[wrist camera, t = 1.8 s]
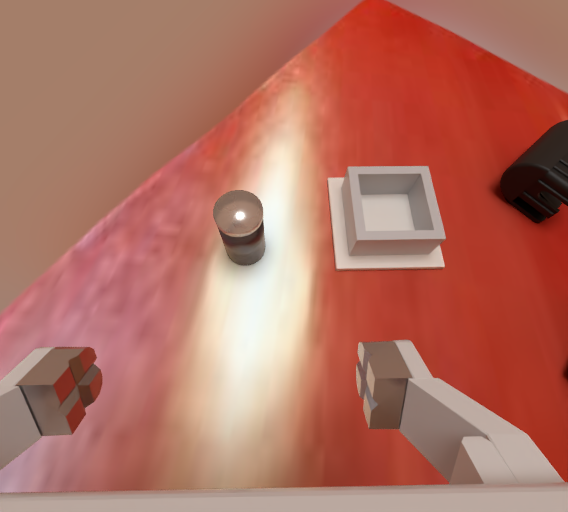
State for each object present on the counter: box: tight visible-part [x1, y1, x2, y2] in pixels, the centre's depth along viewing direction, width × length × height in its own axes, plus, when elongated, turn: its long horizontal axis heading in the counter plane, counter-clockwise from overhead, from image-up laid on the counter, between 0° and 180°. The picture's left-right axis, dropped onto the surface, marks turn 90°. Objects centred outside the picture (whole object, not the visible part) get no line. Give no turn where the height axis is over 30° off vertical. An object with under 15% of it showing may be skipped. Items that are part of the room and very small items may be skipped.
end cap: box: [500, 120, 568, 223], centre depth 38 cm, size 10×7×7 cm
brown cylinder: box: [213, 190, 265, 265], centre depth 33 cm, size 4×4×8 cm
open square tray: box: [327, 166, 446, 271], centre depth 36 cm, size 12×12×5 cm
